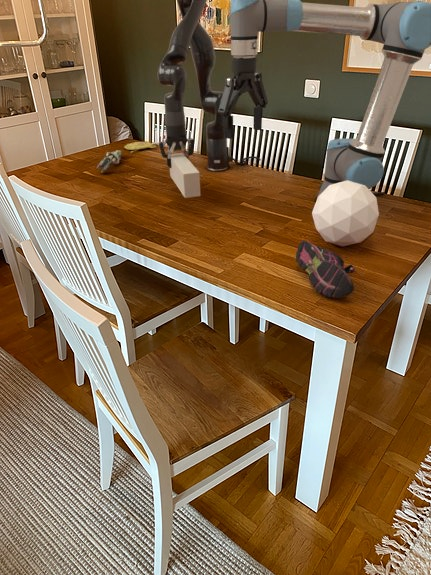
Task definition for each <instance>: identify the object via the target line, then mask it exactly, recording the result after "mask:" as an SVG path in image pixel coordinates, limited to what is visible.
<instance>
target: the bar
mask: <svg viewBox="0 0 431 575" xmlns="http://www.w3.org/2000/svg"><path fill="white" fill-rule="evenodd" d="M170 158H171V168H169V176H170V178H171V179H172V181H173V183H174V184H175V185H176V187H177V188H178V190H179V191H180V192H181V195H182V197H184V199H188V198H196V197H201V176H200V174H201V173H200V171H199V170H198V169H197V168H196V167H195V165H194V164H193V163H192V162H191V161H190V160H189V158H188V159H187V157H186V156H185V155H184V153H183V152H180V153H172V155H171V157H170Z"/></svg>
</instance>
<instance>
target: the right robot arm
mask: <svg viewBox="0 0 431 575" xmlns="http://www.w3.org/2000/svg"><path fill="white" fill-rule="evenodd" d="M229 14H230V56H232V58H231V59H230V71H231V73H232V74H233V75H232V76H233V77H225V80H224V88H223V91H222V92H223V95H222V99H221V102H220V106H219V110H218V114H221V115H223V117H224V127H225V138H227V140H234V115H232V114H233V111H234V110H235V108H236V105H237V103H238V100H239V99H240V96H242V95H243V94H245V93H248V95H249V96H250V98H251V100H252V103H253V104H254V105H255V107H253V130H255V131H262V128H263V114H264V109H266V107H267V105H268V103H269V101H268V97H267V94H266V90H265V86H264V83H263V74H262V73H261V72H257V71H258V57H257V55H258V42H259V41H258V40H259V33H260V32H261V33H264V32H300V33H301V32H302V33H314V34H325V35H326V34H329V35H342V36H353V37H359V38H360V39H361V40H362V41H371V42H375V43H378V44H383V46H382V49H381V53H382V55H383V62H382V65H381V68H380V69H379V73H378V76H377V79H376V80H375V84H374V87H373V90H372V93H371V96H370V99H369V102H368V104H367V107H366V110H365V113H364V116H363V118H362V122H361V123H360V127H359V129H358V132H357V135H356V138H346V137H345V138H335V139H331V140H329V141H328V144H327V148H326V158H325V168H324V178H323V182H322V183H320V184H318V189H319V191H318V193H317V195H316V196H317V198H318V196H319V195H320V194H321V193H322V192H323V191H324V190H325V189H326V188H327V187H328V186H329V185H332V184H335V183H339V182H343V181H347V180H349V181H352V182H355V183H358V184H362V185H365V186H366V187H367V188H368V189H369V190H370V189H372V188H374V187H376V186H377V185H378V184H379V183H380V182H381V181H382V178H383V177H384V173H385V167H384V164H383V162H382V161H383V159H384V156H385V153H386V151H385V149H384V148H385V147H384V142H385V140H386V138H387V134H388V132H389V129H390V127H391V125H392V122H393V119H394V116H395V114H396V112H397V109H398V106H399V104H400V101H401V98H402V96H403V94H404V90H405V88H406V86H407V82H408V80H409V78H410V74H411V72H412V70H413V68H414V65H415V64H416V63H418V62H420V61H421V60H422V59H423V56H424V53H425V51H426V50H427V49H428V48H430V47H431V2H428V1H424V0H416V1H398V2H391V3H381V4H375V3H369V4H367V5H366V6H365V7H363V6H351V5H339V4H328V3H327V4H324V3H316V2H315V3H314V2H313V3H312V2H303V1H301V0H230V11H229ZM372 193H373V195H374V196H380V195H385V191H380V192H372ZM317 198H316V199H317Z"/></svg>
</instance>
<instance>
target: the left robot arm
mask: <svg viewBox="0 0 431 575" xmlns="http://www.w3.org/2000/svg"><path fill="white" fill-rule="evenodd" d="M176 2H177V6H178V9H179V12H180V15H181V18H182V19H181V20H180V22H179V23H178V24H177V25H176V27H175V28H174V30H173V31H172V34H171V37H170V40H169V45H168V49H167V51H166V53H165V55H164V56H163V58H162V60H161V62H160V64H159V66H158V68H157V72H156V73H157V74H156V75H157V80H158V82H159V84H160V85H162V86H166V87H173V91H171V92H167V93H166V94H164V97H163V103H164V125H165V135H166V137H165V140H159V141H158V145H159V149H160V154H161V157H162V158H164V159H166V165H167V167H168V168H169V169H170V168H171V158H170V157H171V155H172V154H174V151H182V153H183V154H184V155H185V156H186V157H187V159H188V160H189V157H190V156H193V154H194V147H195V140H194V138H192V137H191V138H187V130H186V115H185V110H184V109H185V108H184V95H185V89H186V84H187V77H188V74H187V70H186V68H185V67H184V65H182V63H185V61H186V60H187V57H188V54H189V50H190V54H191V59H192V63H193V66H194V71H195V75H196V80H197V86H198V93H199V100H200V105H201V108H202V110H203V112H204V114H207V115H208V114H209V115H215V117H214V120H212V121H210V122H207V123H206V125H205V128H206V129H205V134H206V158H207V159H206V160H207V163H206V165H207V166H206V167H207V170H208V171H212V172H223V171H226V170H227V169H229V168H230V163H232V162H234V164H236V165H238V166H244V165H247V163H248V162H247V160H251V159H255V160H257V161H261V158H259V157H258V156H255V155H254V156H253V155H251V156H247V157H243V158H241V162H238V161H237V159H236V158H234V157H233V156H231V155H230V148H229V146H228V138H225V127H224V117H223V115H221V114H218V110H219V106H220V102H221V99H222V95H223V92H224V91H218V90H217V91H216V90H213V89H212V85H211V76H212V73H213V71H214V68H215V64H216V58H217V57H216V52H215V47H214V43H213V40H212V38H211V35H210V34H209V33H208V31H207V30H206V29H205V28H204V27H203V25H202V24H201V23H200V19H201V16H202V15H203V12H204V9H205V7H206V4H207V2H208V0H176ZM186 144H188V151H187V149H186V147H185V146H186ZM166 145H167V146H168V148H167V152H166V151H165V147H166Z"/></svg>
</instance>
